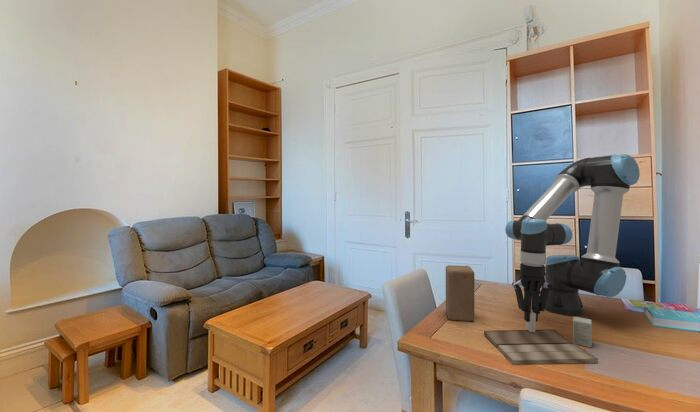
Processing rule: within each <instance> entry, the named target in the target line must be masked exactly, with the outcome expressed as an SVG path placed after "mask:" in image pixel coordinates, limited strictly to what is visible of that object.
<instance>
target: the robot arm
mask: <svg viewBox="0 0 700 412" xmlns="http://www.w3.org/2000/svg"><path fill="white" fill-rule="evenodd" d="M553 180H554V182H553V183H552V184H550V186H549V187H548V188H547V189H546V191H545V192H544V193H542V195H541V196H540V197H539V198H538V199H537V200H536V201H535V202H534V203H533V204H532V205H531V206H530V207H529V208H528V210H527V209H526V211H525V212H524V213H523V215H522V216H521V217H520V218H519V219H517V220H510V221H508V222H507V223H506V225H505V228H504V229H505V234H506V236H507V237H508V238H509V239H513V240H515V241H516V240H517V241H520V258H519V261H520V264H519V274H520V275H519V278H518V281H516V282H512V283H511V285H512V287H513V289H514V291H515V296H516V301H517V306H518V307H517V308H518V309H519V310H521V311H522V312H523V313H524V315H523V319H524V321H525V330H528V331H530V332H535V330H536V325H537V324H536V323H537V322H538V321H539V314H541V312H544V311H548V312H551V313H555V314H559V315H563V316H564V315H565V316H579V315H580V316H581V315H583V314H584V311H585V309H584V304H583V302H582V299H581V297H580V294H579V291H582V292H587V293H590V294H594V295H596V296H600V297H601V296H602V297H607V298H613V297H616V296H618V295H619V294H620V293H621V292H622V291H623V290H624V288H625V285H626V282H627V275H626V271H625V270H624V269H623V268H622V267H621V266H620V265H621V264H620V261H619V259H617V258H616V254H617V246H618V245H617V244H618V238H619V230H620V224H621V223H620V222H621V215H622V207H623V199H624V195H625V194H627V193H628V192H629V191H630V187H631V186H633V185H635V184H637V183H638V181H639V180H640V168H639V164H638V163H637V161H636V159H635V157H633V156H631V155H629V154H626V153H625V154H612V155H604V156H596V157H595V156H594V157H585V158H581V159H579V160H576V161H575V162H573V163H571V164H569V165H568V166H567V167H565V168H564V169H562V170H561V171H560V172H559V173H558V174H557V175H556V176H555V178H554V179H553ZM583 187H590V190H591V191H592V192H593V194H594V195H593V202H592V203H593V204H592V212H591V219H590V225H589V231H588V232H589V234H588V241H587V249H586V253H584V254H583V255H581V258H580V257H579V256H578V255H575V254H574V255H573V254H556V255H555V254H554V255H553V254H552V255H548V256H547V255H546V253H547V251H546V250H547V246H561V245H566V244H568V243H570V242H571V241H572V239H573V230H572V229H571V227H570V226H568V224H564V223H558V222H557V223H549V222H547V220H548V219H549V218H550V217H551V216H552V215H553V214H554V213H555V211H556V210H558V208H559V207H560V206H561V205H562V204H563V203H564V202H565V201H566V199H568V198H569V196H570V195H571V194H572V193H576V192H578V191H579V190H580V189H581V188H583ZM522 287H523V290H522ZM523 292H524V293H523Z"/></svg>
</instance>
